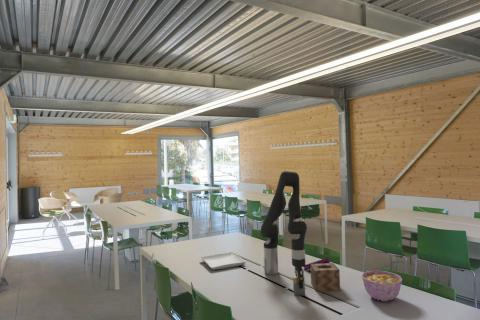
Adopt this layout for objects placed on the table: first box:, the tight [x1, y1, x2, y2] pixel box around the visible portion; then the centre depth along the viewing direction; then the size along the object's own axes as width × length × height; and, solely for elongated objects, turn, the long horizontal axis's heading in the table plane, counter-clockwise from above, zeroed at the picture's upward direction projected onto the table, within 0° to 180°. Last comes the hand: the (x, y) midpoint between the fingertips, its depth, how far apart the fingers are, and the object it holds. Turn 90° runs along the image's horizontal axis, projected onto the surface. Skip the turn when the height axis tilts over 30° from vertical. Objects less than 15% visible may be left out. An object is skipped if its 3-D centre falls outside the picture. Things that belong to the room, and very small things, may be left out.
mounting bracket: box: [302, 257, 331, 270], centre depth 225 cm, size 10×8×18 cm
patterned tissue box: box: [310, 262, 341, 292], centre depth 197 cm, size 14×12×12 cm
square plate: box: [199, 252, 247, 271], centre depth 248 cm, size 27×27×4 cm
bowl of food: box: [361, 270, 403, 302], centre depth 179 cm, size 20×20×12 cm
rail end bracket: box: [292, 275, 306, 297], centre depth 188 cm, size 6×3×10 cm, turn 90°
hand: (299, 285), depth 188 cm, fingers open, 8 cm apart
